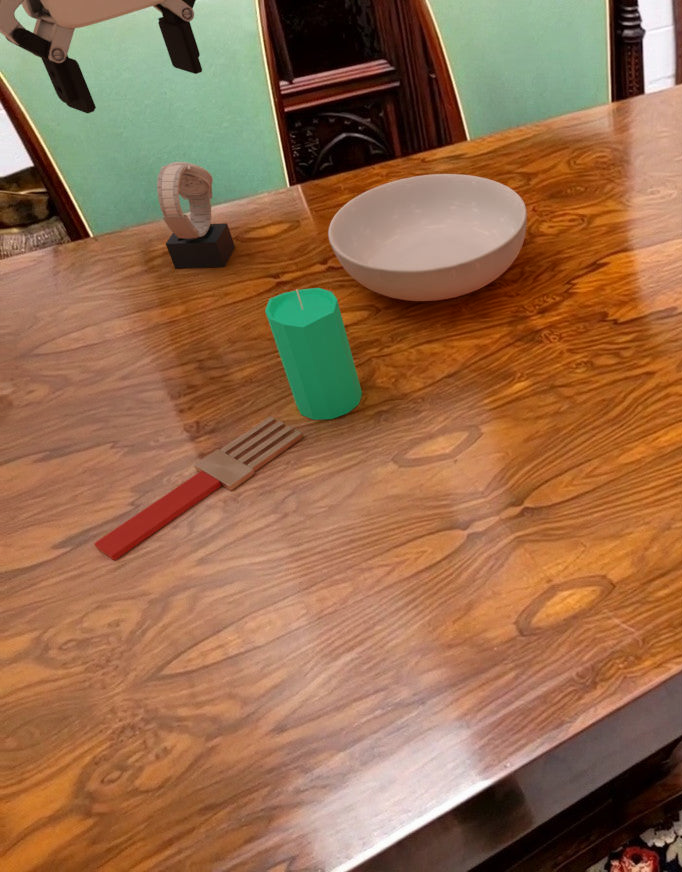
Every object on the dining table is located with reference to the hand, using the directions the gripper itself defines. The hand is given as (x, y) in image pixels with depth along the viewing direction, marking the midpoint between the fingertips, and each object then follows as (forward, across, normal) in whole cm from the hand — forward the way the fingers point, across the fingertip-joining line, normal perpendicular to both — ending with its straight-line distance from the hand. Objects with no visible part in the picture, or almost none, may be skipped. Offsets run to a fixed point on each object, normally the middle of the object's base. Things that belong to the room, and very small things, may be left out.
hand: (137, 88), depth 76 cm
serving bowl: (+26, -22, +7) cm, 35 cm away
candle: (+26, 0, +14) cm, 30 cm away
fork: (+26, +14, +14) cm, 33 cm away
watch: (+26, -10, -18) cm, 34 cm away
